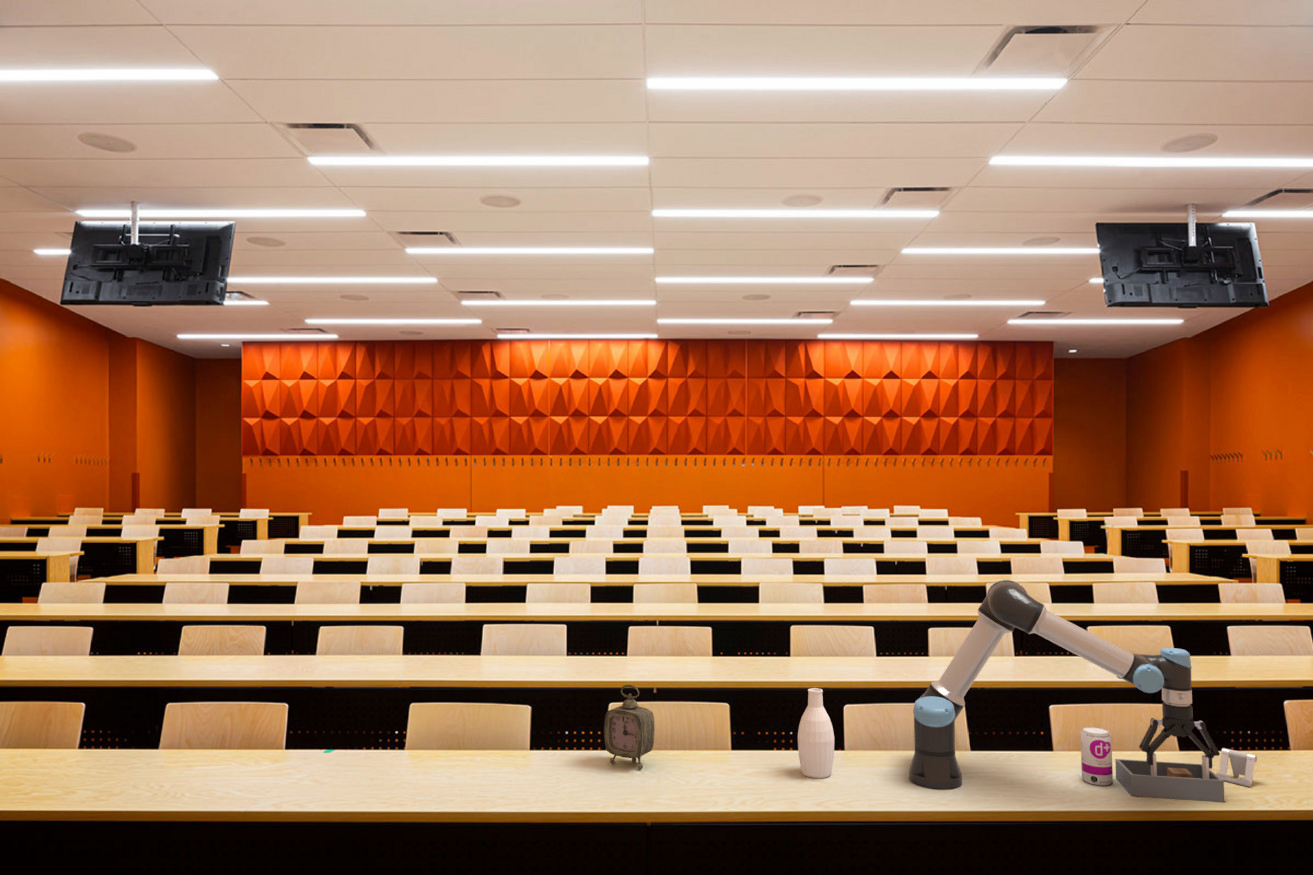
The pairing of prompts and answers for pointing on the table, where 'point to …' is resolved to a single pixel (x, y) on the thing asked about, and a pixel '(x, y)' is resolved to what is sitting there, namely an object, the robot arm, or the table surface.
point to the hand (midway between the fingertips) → (1179, 777)
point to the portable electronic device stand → (1237, 766)
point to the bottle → (816, 738)
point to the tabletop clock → (629, 730)
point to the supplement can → (1096, 756)
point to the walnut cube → (1178, 772)
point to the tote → (1168, 781)
